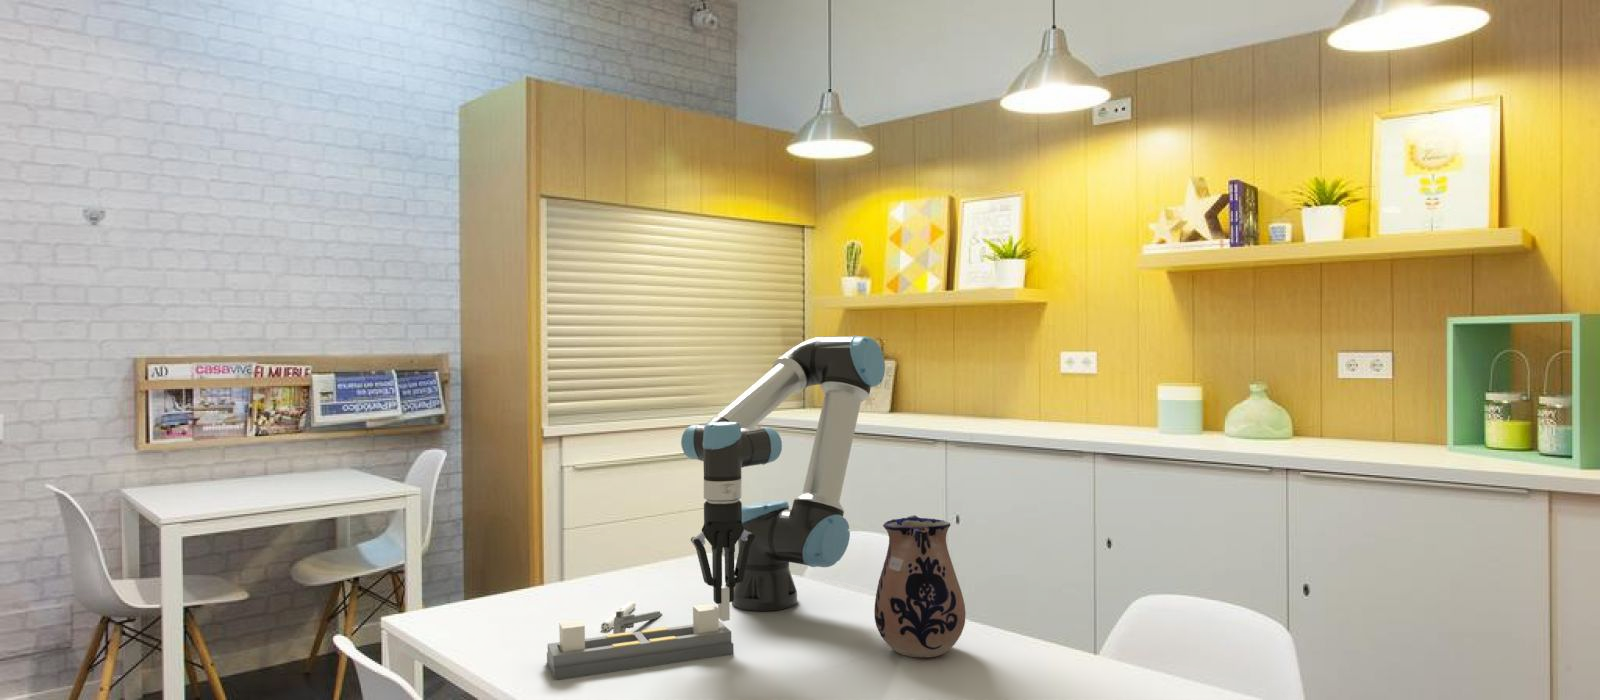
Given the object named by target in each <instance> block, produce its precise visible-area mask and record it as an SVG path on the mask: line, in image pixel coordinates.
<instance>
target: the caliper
mask: <svg viewBox="0 0 1600 700" xmlns="http://www.w3.org/2000/svg"><path fill="white" fill-rule="evenodd" d="M617 611H618V610H617ZM617 611H616V617H615V618H614V627H612V629H613V630H612V631H613V633H612V634H617V633H625V632H626V630H627V629H631V628H635V627H634V625H635V624H638V623H643V622H646V621H652V620H657V619H658V618H660V617H661V616H663V615H662V614H663V613H662V612H661V610H660V611H659V610H653V611H649V612H643V613H639V614H631V613H629V614H628V615H624V611H619V612H617ZM659 616H660V617H659ZM656 618H657V619H656Z"/></svg>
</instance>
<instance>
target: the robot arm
mask: <svg viewBox="0 0 1600 700" xmlns="http://www.w3.org/2000/svg"><path fill="white" fill-rule="evenodd" d="M885 372H886V363H885V357H884V354H883V350H882V348H881V346H880V345H879V343H878V342H877V341H876V339H874V338H872V337H869V336H862V335H860V336H859V335H852V336H851V335H850V336H849V335H846V336H841V335H840V336H815V337H812V338H809V339H807V340H804V341H802V342H800V343H799V344H797V345H795V346H793V347H792V348H789V350H787V351H786V352H784V353H783V355H781V356H779V357H778V358H777V359H776V360H774V362H773V364H772V368H771V370H769V371H768V372H766V373H765V374H764V375H763V376H762V377H760V378H759V379H758V380H757V381H756V382H755V383H753V384H752V385H751V386H749V388H747V389H746V390H745V391H743V392H742V393H741V395H738V397H737V398H735V399H734V400H733V401H732V402H731V403H729V404H728V405H727V406H726V407H724V408H723V409H722V410H720V411H719V412H718V413H717V414H716V415H714V416H713V417H712V418H711V419H710V420H708V421H707V422H706V423H705V424H701V423H700V424H692V425H689V426H688V427H687V428H686V429H684V431H683V433H682V435H681V441H680V445H681V449H682V451H683V453H684V455H685V456H686V457H688V459H691V460H696V461H697V460H698V461H701V462H703V499H704V500H705V502H704V503H703V525H702V528H701V532H700V533H699V534H697V535H696V536H692V537H691V538H690V542H691V543H692V544H693V546H694V547H695V551H696V554H697V558H698V559H697V560H698V563H699V566H700V569H701V574H702V578H703V582H704V583H705V584H707V586H710V587H712V588H713V589H712V590H713V593H712V594H713V602H714V603H715V604H716V605H717V608H718V614H719V620H720V621H721V622H727V621H730V619H731V617H730V616H731V615H730V614H731V613H730V611H731V610H730V606H731V605H730V603H731V604H732V606H733V607H735V608H737V609H740V610H745V611H753V612H768V611H769V612H771V611H781V610H785V609H787V608H790V607H793V606H796V604H797V603H798V590H797V587H796V585H795V582H794V579H793V576H792V573H791V569H790V563H793V564H797V565H798V564H799V565H804V566H808V567H811V568H829V567H833V566H834V565H835V564H837V563H838V562H839V561H840V560H841V559H842V558H843V556H844V555H845V553H846V551H847V548H848V547H849V546H848V545H849V541H850V537H851V531H850V530H849V529H850V524H849V522H848V520H847V519H846V518H845V517H844V514H845V510H844V508H843V506H842V505H841V503H840V500H841V496H842V490H843V486H844V483H845V476H846V472H847V467H848V463H849V458H850V454H851V451H852V450H851V449H852V446H853V445H852V444H853V442H854V441H853V440H854V436H855V431H856V427H857V423H858V422H857V421H858V418H859V413H860V408H861V405H862V402H864V401H866V400H867V399H868V398H869V397H870V394H871V388H875V387H877V386H879V385H880V384H881V383H882V381H883V380H884V377H885ZM816 385H819V386H820V389H821V390H822V392H823V393H824V396H823V397H824V398H823V401H822V402H823V403H822V405H821V411H820V415H819V419H818V423H817V427H816V432H815V437H814V441H813V445H812V449H811V450H812V451H811V454H810V458H809V463H808V467H807V472H806V476H805V481H804V484H803V489H802V492H801V494H800V495H798V496H796V497H795V498H794V499H793V502H792V506H791V509H790V505H789V502H788V501H787V500H769V501H762V502H755V503H751V504H746V505H744V506H743V504H742V502H741V500H740V499H741V498H742V468H745V467H746V468H747V467H752V466H761V465H763V466H764V465H766V464H769V463H770V464H771V463H772V462H775V461H777V459H779V457H780V455H781V453H782V447H783V441H782V438H781V435H780V434H779V433H778V432H777V430H776V429H773V428H772V427H761V426H759V427H756V426H757V425H758V424H759V423H761V422H762V421H763V420H764V419H765V418H766V417H767V416H768V415H770V414H771V413H772V412H773V411H775V409H776V408H778V407H779V406H780V405H781V404H782V403H783V402H785V401H786V400H787V399H788V398H789V397H791V396H792V395H793V394H799V393H801V392H803V390H805V389H806V388H808V387H810V386H811V387H812V386H816ZM755 427H756V428H755ZM705 539H706V540H705ZM706 541H707V542H708V543H709V545H710V546H711V553H712V555H711V557H712V559H711V560H712V565H711V566H712V571H711V567H710V563H709V558H708V555H707V551H706V548H705V544H706ZM737 543H738V544H737ZM736 544H737V545H738V554H737V557H736V558H737V559H736V563H735V553H736ZM723 550H724V552H723ZM723 553H724V583H725V584H724V583H723Z"/></svg>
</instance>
